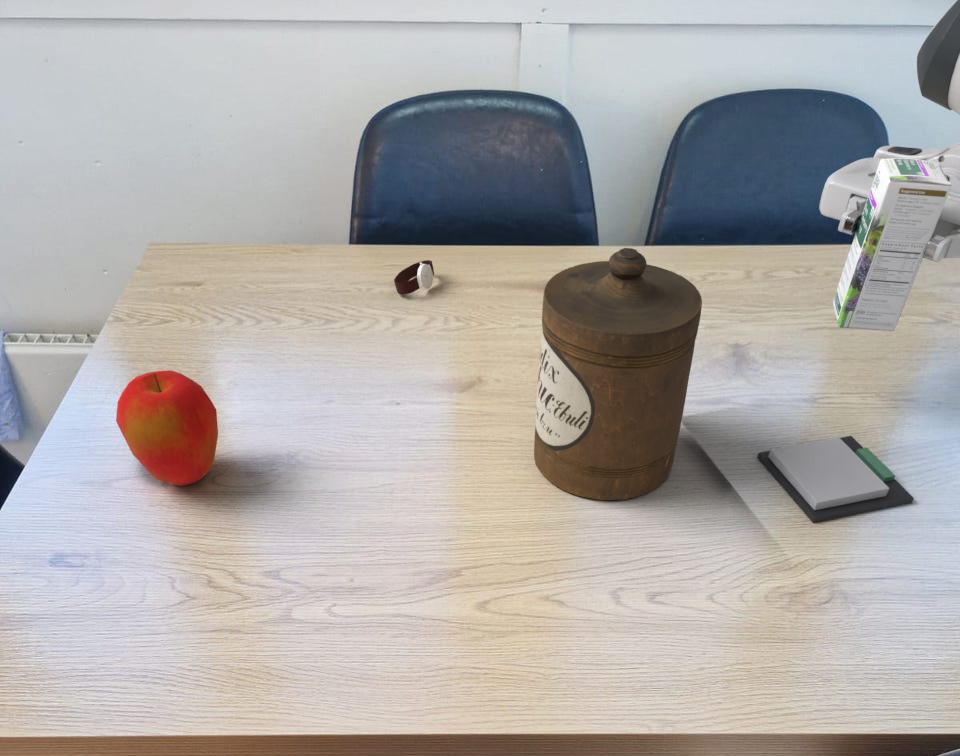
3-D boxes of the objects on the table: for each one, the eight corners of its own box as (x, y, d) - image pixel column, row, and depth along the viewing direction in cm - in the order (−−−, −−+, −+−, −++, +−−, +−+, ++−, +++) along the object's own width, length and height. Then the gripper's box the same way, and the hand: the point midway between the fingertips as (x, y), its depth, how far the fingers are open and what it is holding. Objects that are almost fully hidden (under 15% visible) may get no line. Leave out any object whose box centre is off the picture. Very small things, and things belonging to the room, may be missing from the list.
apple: (121, 491, 88) (81, 387, 79) (173, 443, 94) (142, 341, 85) (198, 513, 86) (167, 408, 77) (247, 463, 91) (223, 359, 83)
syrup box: (830, 302, 92) (877, 155, 82) (887, 306, 92) (941, 159, 81) (837, 329, 89) (887, 178, 78) (897, 333, 88) (955, 182, 77)
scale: (844, 454, 93) (854, 427, 91) (905, 517, 86) (918, 489, 83) (752, 471, 91) (760, 444, 88) (808, 537, 84) (818, 510, 81)
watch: (416, 302, 116) (415, 276, 113) (386, 295, 117) (384, 268, 114) (442, 279, 120) (442, 252, 118) (413, 272, 122) (411, 246, 119)
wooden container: (524, 422, 97) (535, 220, 80) (654, 416, 98) (690, 215, 81) (543, 505, 87) (559, 294, 71) (687, 498, 88) (736, 288, 72)
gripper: (1035, 258, 88) (980, 304, 81) (850, 202, 97) (787, 240, 91) (1066, 192, 83) (1010, 236, 76) (869, 141, 93) (803, 176, 86)
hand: (887, 238), depth 84 cm, fingers closed on syrup box, 7 cm apart
